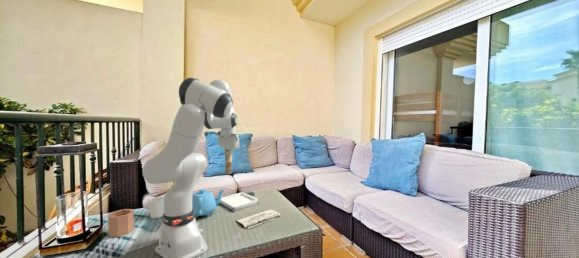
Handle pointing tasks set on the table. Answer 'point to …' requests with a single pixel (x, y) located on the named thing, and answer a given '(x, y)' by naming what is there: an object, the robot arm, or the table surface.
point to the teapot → (205, 202)
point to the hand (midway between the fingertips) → (228, 154)
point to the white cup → (156, 207)
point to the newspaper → (258, 218)
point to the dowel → (228, 162)
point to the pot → (120, 222)
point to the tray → (238, 201)
